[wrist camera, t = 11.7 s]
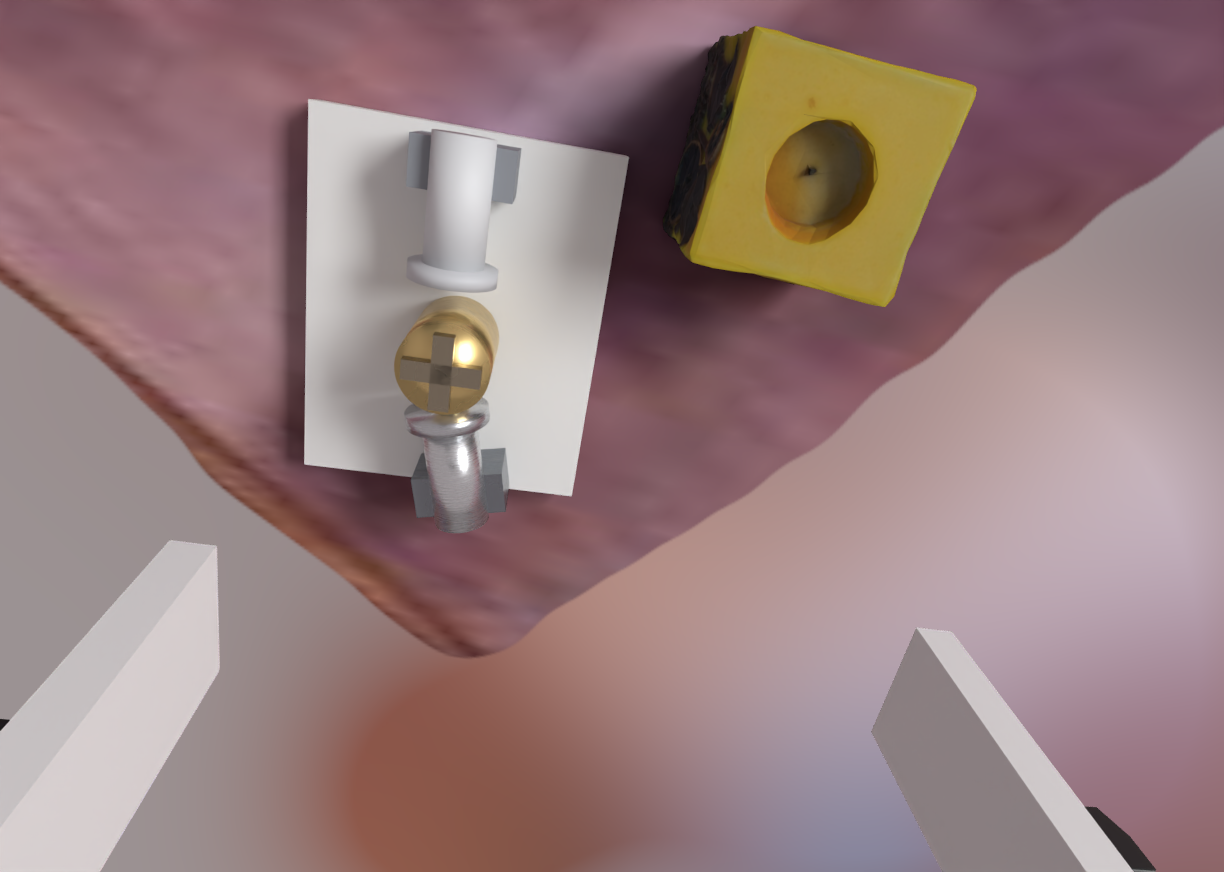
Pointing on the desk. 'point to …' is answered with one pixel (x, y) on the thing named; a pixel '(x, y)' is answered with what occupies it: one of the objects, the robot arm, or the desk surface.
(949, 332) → the desk surface
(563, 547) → the desk surface
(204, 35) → the desk surface
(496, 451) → the shaft out
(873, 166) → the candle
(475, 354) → the coupler
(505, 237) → the shaft base
